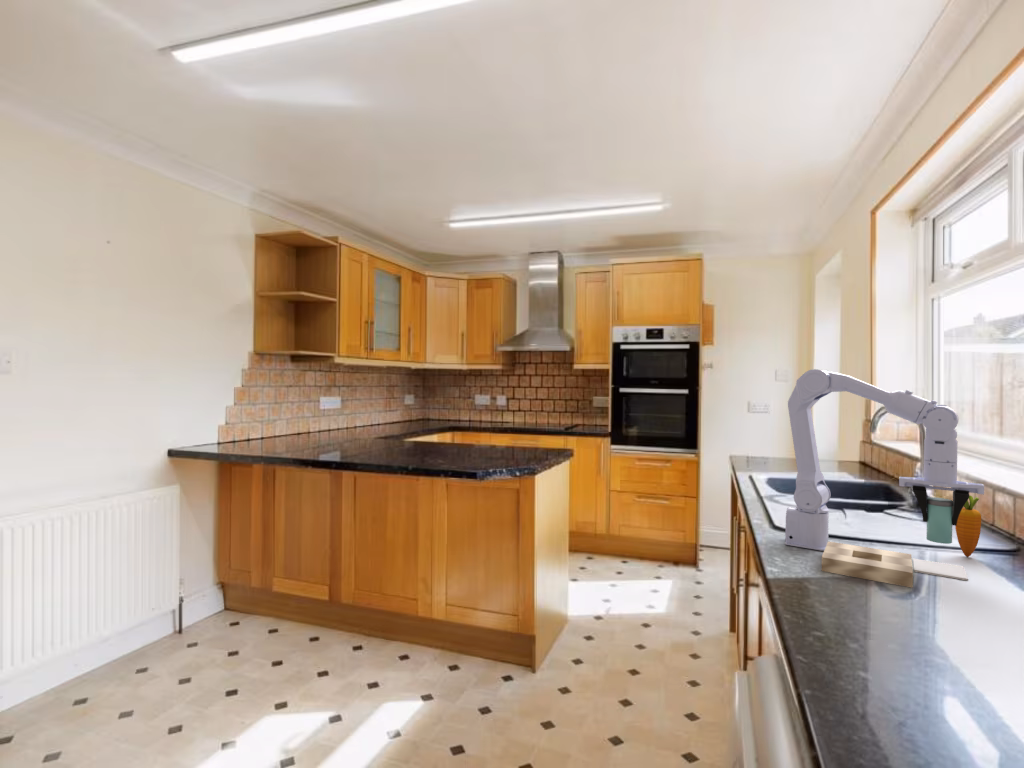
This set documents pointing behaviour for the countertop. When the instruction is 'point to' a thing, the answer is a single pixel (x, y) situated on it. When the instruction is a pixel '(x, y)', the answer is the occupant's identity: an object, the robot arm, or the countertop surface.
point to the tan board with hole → (868, 563)
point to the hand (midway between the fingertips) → (939, 522)
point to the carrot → (968, 527)
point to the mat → (939, 569)
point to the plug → (939, 520)
